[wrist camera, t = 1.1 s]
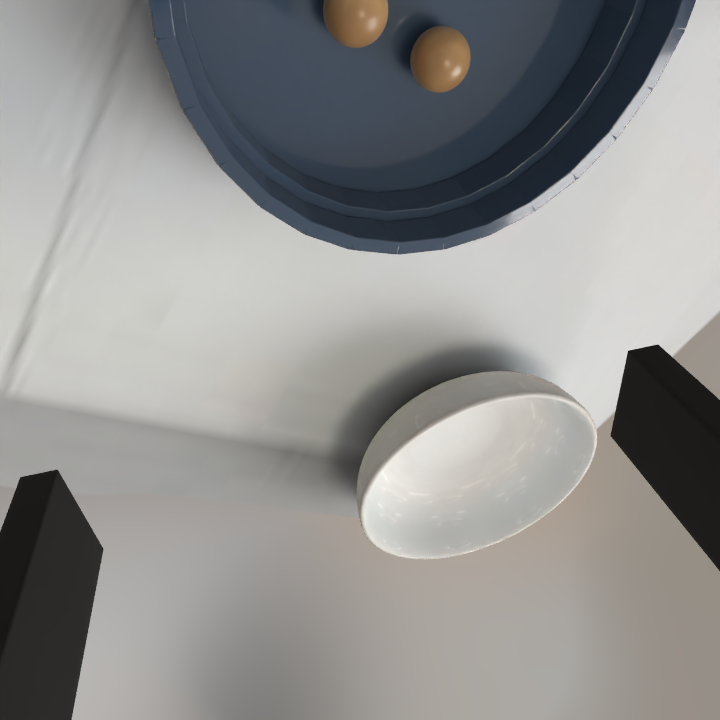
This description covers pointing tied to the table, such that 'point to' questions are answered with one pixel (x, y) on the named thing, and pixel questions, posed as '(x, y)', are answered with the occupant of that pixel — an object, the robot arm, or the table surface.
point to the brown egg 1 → (355, 20)
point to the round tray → (411, 108)
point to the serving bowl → (472, 464)
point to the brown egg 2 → (440, 59)
